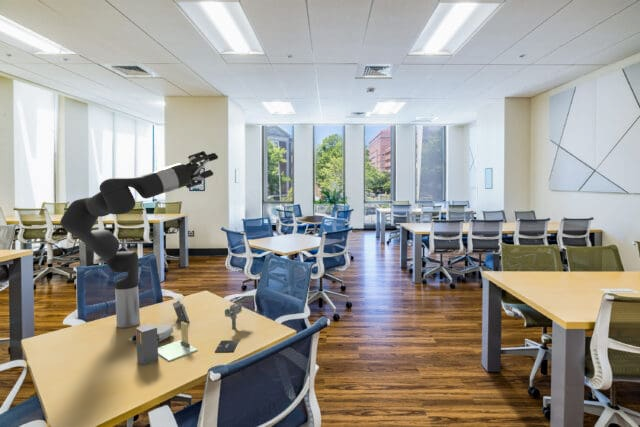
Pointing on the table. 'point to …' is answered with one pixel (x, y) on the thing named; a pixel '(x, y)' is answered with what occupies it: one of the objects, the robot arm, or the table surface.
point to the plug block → (147, 344)
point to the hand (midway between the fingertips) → (214, 164)
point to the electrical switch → (180, 311)
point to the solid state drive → (226, 346)
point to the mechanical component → (233, 313)
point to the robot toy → (160, 332)
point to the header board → (177, 346)
